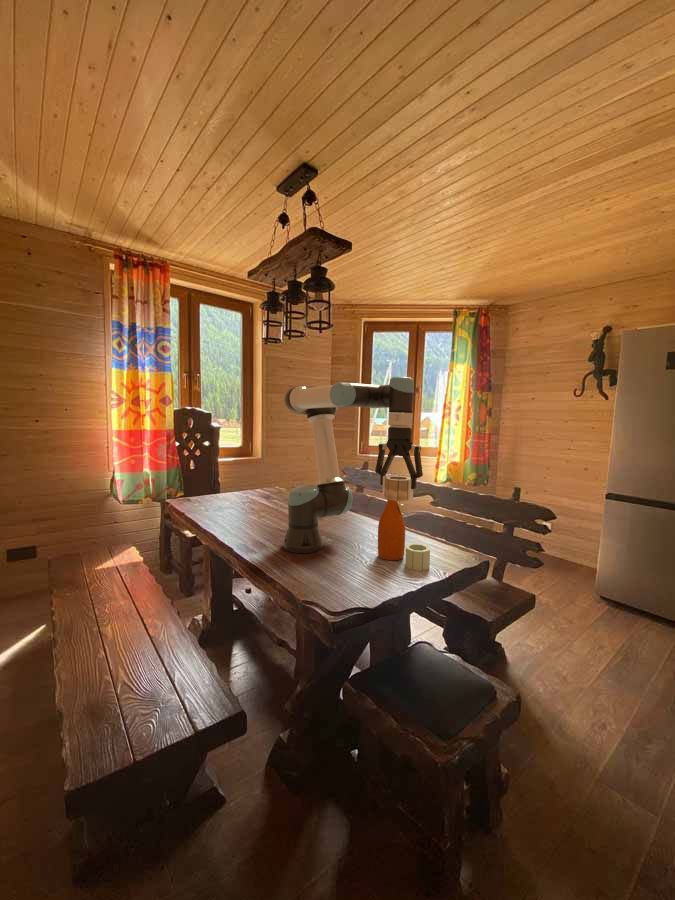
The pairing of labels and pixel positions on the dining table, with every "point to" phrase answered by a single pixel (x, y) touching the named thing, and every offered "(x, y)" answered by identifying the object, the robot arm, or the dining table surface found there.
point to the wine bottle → (391, 532)
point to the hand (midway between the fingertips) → (397, 496)
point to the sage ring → (417, 557)
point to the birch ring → (396, 488)
